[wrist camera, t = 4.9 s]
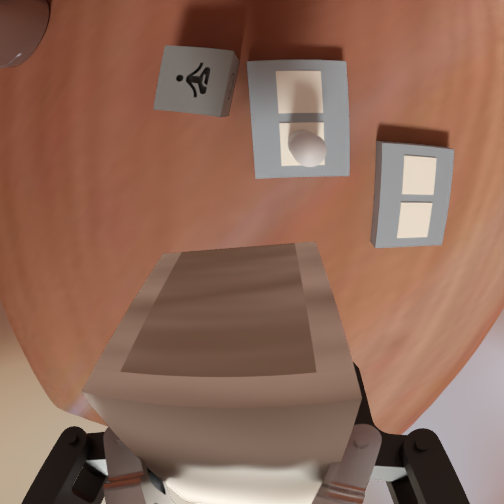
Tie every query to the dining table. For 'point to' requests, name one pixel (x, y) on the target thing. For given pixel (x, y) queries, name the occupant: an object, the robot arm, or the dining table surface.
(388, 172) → the board
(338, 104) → the grey piece
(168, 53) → the dice cube
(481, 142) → the dining table surface
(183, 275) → the cream block
